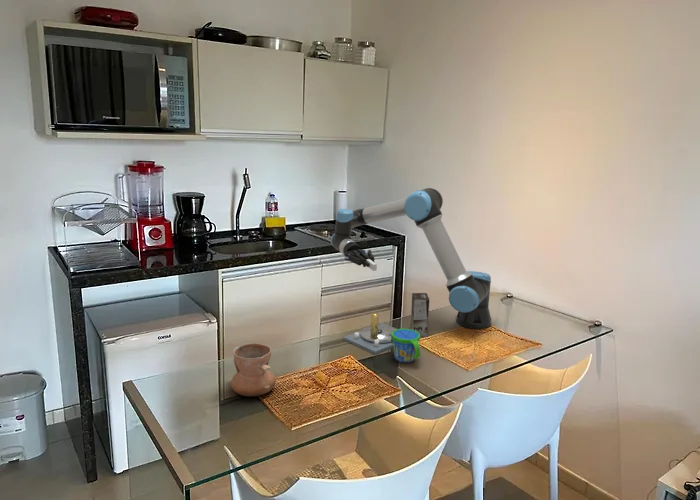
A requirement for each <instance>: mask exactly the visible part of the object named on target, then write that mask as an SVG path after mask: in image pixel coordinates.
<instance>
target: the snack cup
mask: <svg viewBox="0 0 700 500" xmlns="http://www.w3.org/2000/svg"><path fill="white" fill-rule="evenodd" d="M396 329H397V330H394V331H393V332H392V334H391V343H392V344H393V347H392V348H393V355H394V359H395V360H396V361H398V362H400V363H405V364H407V363H412V362H413V361H414V360H417V359H419V358H420V357H421V351H420V344H419V343H420V342H419V341H420V340H421V337H422V336H420V334H419V333H418V332H417V331H415V330H411V328H396Z"/></svg>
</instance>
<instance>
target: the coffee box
mask: <svg viewBox="0 0 700 500" xmlns="http://www.w3.org/2000/svg"><path fill="white" fill-rule="evenodd" d="M410 311H411V313H410V329H411V330H415V331H417V332H418V333H419V334H420V336H421V337H428V326H429V312H430V298H429V296H428V293H427V292H418V293H417V292H412V293H411V309H410Z"/></svg>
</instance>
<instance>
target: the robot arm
mask: <svg viewBox="0 0 700 500" xmlns="http://www.w3.org/2000/svg"><path fill="white" fill-rule="evenodd" d="M443 203H444V199H443V196H442V194H441V193H440V191H439V190H437V189H435V188H432V187H427V188H423V189H420V190H419V189H418V190H415V191H413V192H411V193H409V195H407V197H404V198H400V199H396V200H392V201H388V202H384V203H380V204H377V205H372V206H368V207H364V208H359V209H355V210H352V209H349V208H339V209H337V211H336V217H335V227H334V233H333V234H332V236H331V237H330V244H331V246H332V247H333V248H334V249H335V250H337V251H338V252H339V253H341V254H342V255H343V256H344V260H345V261H348V262H350V263H353V264H355V265H357V266H362V267H363V268H368V269H370V270H371V271H373V272H375V271H378V270H377V267H378V266H377V265H378V264H377V263H376V262H375V256H374V255H373V254H372V250H371V249H368V250H367V251H366V249H362V247H361V246H360V245H359V244H358V243H356V241H354V240H352V239H351V238H352V230H353V229H354V228H356V227H357V228H358V227H360V226H363V225H368V224H372V223H376V222H382V221H386V220H390V219H395V218H399V217H404V216H407V218H409V219H411V220H412V221H414V223H415V225H416V227H417V228H419V229H421V230H422V231H423V233H424V235H425V238H426V239H427V241H428V243H429V245H430V247H431V250H432V252H433V254H434V256H435V258H436V260H437V262H438V263H439V266H440V268H441V270H442V272H443V274H444V276H445V278H446V280H447V281H446V283H445V286H446V288H447V291H448V292H449V294H448V302H449V304H450V306H451V307H452V309H454V310H455V311H457V314H456V317H455V318H456V321H455V322H456V323H457V324H458V325H460V326H462V327H464V328H468V329H474V330H475V329H476V330H477V329H478V330H480V329H487V328H489V327H491V325H492V317H491V312H490V309H489V305H490V304H489V303H490V294H491V283H492V280H491V279H492V278H491V274H489V273H487V272H482V271H475V270H474V271H473V270H466V268H465V266H464V264H463V261H462V260H461V257H460V256H459V253H458V251H457V250H456V247H455V246H454V244H453V241H452V239H451V237H450V235H449V234H448V233H449V232H448V231H447V230H446V227H445V225H444V223H443V222H442V217H443V213H442V210H441V209H442V207H443Z"/></svg>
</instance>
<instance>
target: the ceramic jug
mask: <svg viewBox="0 0 700 500" xmlns="http://www.w3.org/2000/svg"><path fill="white" fill-rule="evenodd" d="M232 353H233V357H234V358H233V363H234V366H235V370H236V373H235V374H234V375H233V376H232V377H231V380H230V386H231V389H232V391H234V392H235V393H236V394H237V395H240V396H243V397H248V398H249V397H251V398H252V396H253V397H259V396H263V395H265V394H267V393H269V392H270V391H271V390H273V389H274V387H275V386H276V383H277V382H276V376H275V374H274V373H273V372H271V371H270V369H271V366H270V365H269V363H270V360H271V356H272V347H271V346H269V345H267V344H262V343H256V342H251V343H242V344H240V345H238V346H236V347H235V348H234V349H233V351H232Z"/></svg>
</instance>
